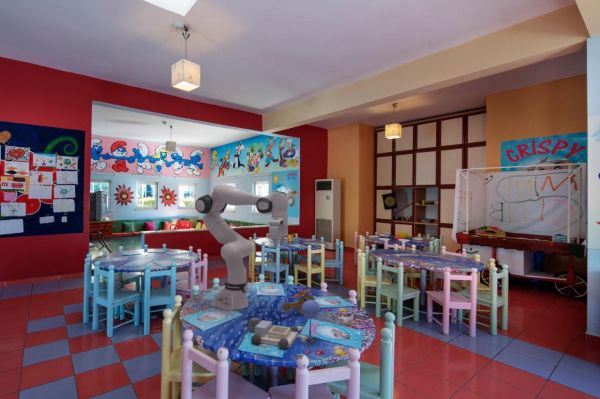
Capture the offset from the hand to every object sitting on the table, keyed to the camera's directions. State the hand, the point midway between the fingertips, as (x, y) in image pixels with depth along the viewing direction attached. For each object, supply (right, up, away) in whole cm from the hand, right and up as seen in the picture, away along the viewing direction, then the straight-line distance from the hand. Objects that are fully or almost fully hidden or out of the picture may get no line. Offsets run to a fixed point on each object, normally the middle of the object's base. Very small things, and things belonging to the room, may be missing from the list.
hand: (278, 245), depth 171 cm
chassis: (0, -39, -26) cm, 47 cm away
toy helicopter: (+12, -40, +5) cm, 41 cm away
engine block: (-11, -39, -18) cm, 44 cm away
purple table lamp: (+16, -40, -25) cm, 50 cm away
